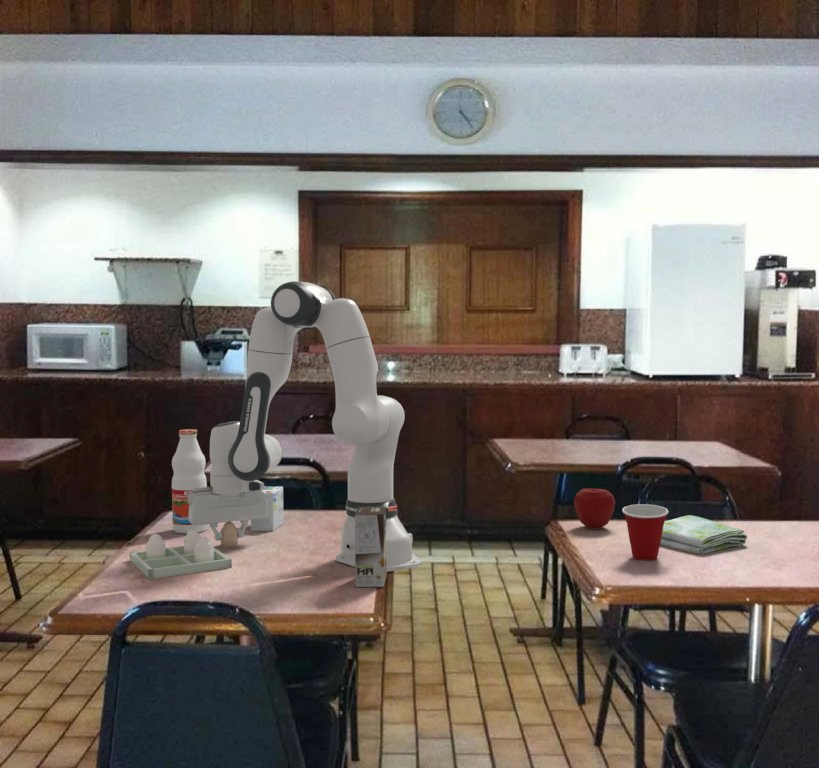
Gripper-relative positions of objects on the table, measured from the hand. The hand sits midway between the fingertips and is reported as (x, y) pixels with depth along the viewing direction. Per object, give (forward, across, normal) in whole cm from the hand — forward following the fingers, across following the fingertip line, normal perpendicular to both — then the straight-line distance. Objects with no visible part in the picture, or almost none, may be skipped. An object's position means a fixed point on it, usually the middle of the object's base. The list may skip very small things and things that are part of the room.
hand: (229, 538), depth 241 cm
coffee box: (+3, +17, -47) cm, 50 cm away
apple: (+3, +94, -30) cm, 99 cm away
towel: (+3, +105, -56) cm, 119 cm away
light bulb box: (+3, +17, +18) cm, 25 cm away
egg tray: (+2, -16, -12) cm, 20 cm away
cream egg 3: (+2, -12, -16) cm, 20 cm away
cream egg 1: (+2, -20, -8) cm, 22 cm away
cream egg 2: (+2, -12, -8) cm, 14 cm away
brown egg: (+2, 0, 0) cm, 2 cm away
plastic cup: (+3, +83, -62) cm, 104 cm away
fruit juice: (+2, -3, +25) cm, 25 cm away
